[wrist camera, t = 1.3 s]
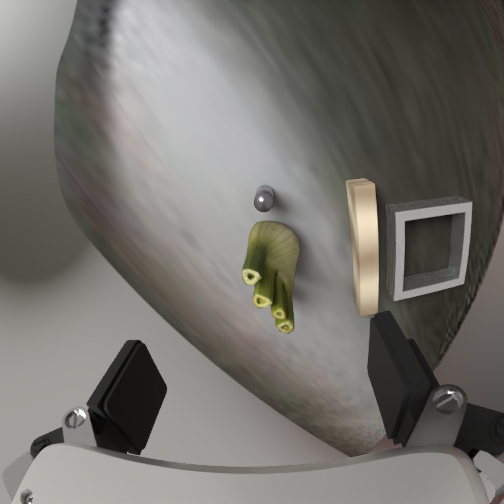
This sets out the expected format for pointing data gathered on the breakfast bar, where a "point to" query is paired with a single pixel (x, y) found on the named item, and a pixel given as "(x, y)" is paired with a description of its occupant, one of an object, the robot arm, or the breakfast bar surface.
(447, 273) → the frame
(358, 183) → the door edge rail
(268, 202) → the pegs
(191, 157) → the breakfast bar surface
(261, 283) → the fennel bulb
